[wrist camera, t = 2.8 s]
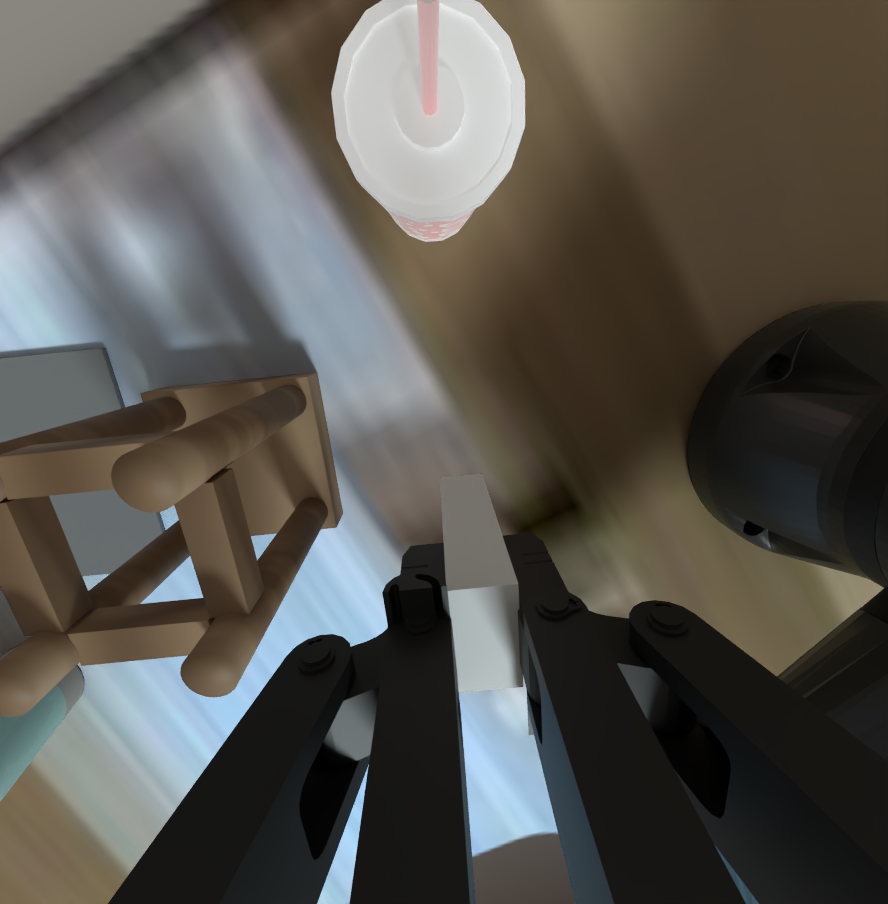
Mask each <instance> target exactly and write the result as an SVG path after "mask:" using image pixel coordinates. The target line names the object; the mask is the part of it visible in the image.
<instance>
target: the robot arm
mask: <svg viewBox="0 0 888 904" xmlns="http://www.w3.org/2000/svg"><path fill="white" fill-rule="evenodd" d="M688 463H689V470H690V475H691V479H692V482H693V485H694V488H695V490H696V493H697V495H698V497H699V498H700V500H701V502H702V503H703V505H704V506H705V507H706V509H707V510H708V511H709V512H710V513H711V514H712V515H713V516H714V517H715V518H716V519H717V520H718V521H720V522H721V523H722V524H724V525H725V526H726V527H728V528H729V529H731V530H732V531H734V532H735V533H736V534H738V535H739V536H741V537H742V538H744V539H745V540H747V541H749V542H750V543H752V544H754V545H756V546H758V547H761V548H763V549H765V550H768V551H770V552H774V553H777V554H781V555H784V556H788V557H791V558H795V559H799V560H802V561H806V562H810V563H813V564H817V565H821V566H824V567H828V568H832V569H835V570H839V571H842V572H846V573H850V574H853V575H857V576H861V577H864V578H868V579H870V580H871V581H873V582H875V583H877V584H879V585H880V586H882V587H884V589H883V590H882V591H881V592H879V593H878V594H877V595H876V596H875V597H873V598H872V599H871V600H870V601H869V602H867V603H866V604H865V605H864V606H863V607H861V608H860V609H858V610H857V611H856V612H855V613H853V614H852V615H851V616H850V617H849V618H847V619H846V620H845V621H844V622H843V623H841V624H840V625H839V626H838V627H837V628H835V629H834V630H833V631H832V632H830V633H829V634H828V635H827V636H826V637H824V638H823V639H822V640H821V641H820V642H818V643H817V644H816V645H815V646H814V647H812V648H811V649H810V650H809V651H807V652H806V653H805V654H804V655H803V656H801V657H800V658H799V659H798V660H797V661H795V662H794V663H793V664H792V665H791V666H789V667H788V668H787V669H786V670H784V671H783V672H782V673H781V674H780V675H778V676H775V675H774V674H773V673H771V672H770V671H769V670H767V669H766V668H765V667H763V666H762V665H761V664H760V663H758V662H757V661H756V660H754V659H753V658H752V657H750V656H749V655H748V654H747V653H745V652H744V651H743V650H741V649H740V648H739V647H737V646H736V645H735V644H733V643H732V642H731V641H730V640H728V639H727V638H726V637H724V636H723V635H722V634H720V633H719V632H718V631H717V630H715V629H714V628H713V627H711V626H710V625H709V624H707V623H706V622H705V621H704V620H702V619H701V618H700V617H698V616H697V615H696V614H694V613H693V612H691V611H689V610H687V609H686V608H684V607H682V606H679V605H676V604H673V603H670V602H665V601H656V600H654V601H646V602H641V603H639V604H637V605H636V606H634V607H633V608H632V610H631V612H630V613H629V619H627V618H620V617H612V616H605V615H601V614H597V613H594V612H591V611H589V610H588V608H587V607H586V605H585V604H584V603H583V602H582V600H581V599H580V598H578V597H576V596H575V595H573V594H571V593H569V592H568V590H567V588H566V586H565V584H564V582H563V580H562V578H561V576H560V574H559V572H558V570H557V568H556V566H555V564H554V563H553V562H552V559H551V557H550V555H549V554H548V551H547V549H546V547H545V545H544V543H543V541H542V540H540V539H539V538H538V537H536V536H535V535H533V534H532V533H525V534H515V535H505V536H502V533H501V530H500V527H499V524H498V521H497V518H496V515H495V512H494V509H493V506H492V503H491V500H490V497H489V494H488V490H487V487H486V484H485V481H484V478H483V475H482V473H480V474H470V475H460V476H450V477H440V486H441V504H442V522H443V540H444V543H437V544H427V545H416V546H411V547H410V548H409V549H408V550H407V551H406V553H405V554H404V555H403V557H402V565H401V574H400V575H399V576H397V577H395V578H393V579H392V580H391V581H390V582H389V583H388V584H386V586H385V588H384V590H383V598H384V605H385V611H386V617H387V623H388V628H387V629H386V630H385V631H384V632H383V633H382V634H380V635H379V636H377V637H376V638H373V639H371V640H369V641H366V642H364V643H361V644H358V645H355V646H352V647H350V643H349V642H348V641H347V640H346V639H345V638H343V637H341V636H337V635H333V634H330V635H319V636H316V637H313V638H310V639H308V640H306V641H304V642H303V643H301V644H299V645H298V646H296V647H295V648H294V649H293V650H292V651H291V652H290V653H289V654H288V655H287V656H286V658H285V659H284V661H283V662H282V663H281V665H280V666H279V668H278V669H277V670H276V672H275V673H274V674H273V676H272V677H271V679H270V680H269V681H268V683H267V684H266V686H265V687H264V688H263V690H262V691H261V692H260V694H259V695H258V697H257V698H256V699H255V701H254V702H253V704H252V705H251V706H250V708H249V709H248V710H247V712H246V713H245V715H244V716H243V717H242V719H241V720H240V722H239V723H238V724H237V726H236V727H235V728H234V730H233V731H232V733H231V734H230V735H229V737H228V738H227V740H226V741H225V742H224V744H223V745H222V746H221V748H220V749H219V751H218V752H217V753H216V755H215V756H214V758H213V759H212V760H211V762H210V763H209V764H208V766H207V767H206V769H205V770H204V771H203V773H202V774H201V776H200V777H199V778H198V780H197V781H196V782H195V784H194V785H193V787H192V788H191V789H190V791H189V792H188V794H187V795H186V796H185V798H184V799H183V800H182V802H181V803H180V805H179V806H178V807H177V809H176V810H175V812H174V813H173V814H172V816H171V817H170V818H169V820H168V821H167V823H166V824H165V825H164V827H163V828H162V830H161V831H160V832H159V834H158V835H157V836H156V838H155V839H154V841H153V842H152V843H151V845H150V846H149V848H148V849H147V850H146V852H145V853H144V854H143V856H142V857H141V859H140V860H139V861H138V863H137V864H136V866H135V867H134V868H133V870H132V871H131V872H130V874H129V875H128V877H127V878H126V879H125V881H124V882H123V884H122V885H121V886H120V888H119V889H118V890H117V892H116V893H115V895H114V896H113V897H112V899H111V900H110V902H109V903H108V904H317V902H318V899H319V897H320V894H321V891H322V888H323V886H324V883H325V880H326V878H327V875H328V872H329V870H330V867H331V864H332V861H333V859H334V856H335V853H336V851H337V848H338V845H339V843H340V840H341V837H342V835H343V832H344V829H345V826H346V824H347V821H348V818H349V816H350V813H351V810H352V808H353V805H354V802H355V799H356V797H357V794H358V791H359V789H360V786H361V783H362V781H363V778H364V775H365V772H366V770H367V767H368V764H369V767H368V774H367V782H366V789H365V796H364V803H363V811H362V818H361V825H360V832H359V840H358V847H357V854H356V861H355V869H354V876H353V883H352V890H351V898H350V904H476V902H475V889H474V877H473V864H472V851H471V838H470V825H469V812H468V800H467V787H466V774H465V761H464V748H463V736H462V723H461V711H460V702H459V693H464V692H474V691H484V690H495V689H505V688H515V687H523V676H524V680H525V684H526V688H527V704H528V727H529V735H533V734H534V736H535V740H536V744H537V748H538V752H539V756H540V760H541V764H542V769H543V773H544V777H545V781H546V785H547V789H548V793H549V797H550V801H551V805H552V809H553V813H554V818H555V822H556V826H557V830H558V834H559V838H560V842H561V846H562V850H563V854H564V858H565V862H566V866H567V870H568V874H569V878H570V883H571V887H572V890H573V895H574V899H575V903H576V904H888V301H858V302H837V303H827V304H821V305H816V306H812V307H808V308H805V309H802V310H799V311H796V312H793V313H791V314H789V315H786V316H784V317H782V318H780V319H778V320H776V321H774V322H772V323H771V324H769V325H767V326H766V327H764V328H763V329H761V330H760V331H758V332H757V333H755V334H754V335H753V336H751V337H750V338H749V339H748V340H746V341H745V342H744V343H743V344H742V345H741V346H740V347H739V348H737V349H736V350H735V351H734V352H733V353H732V354H731V355H730V357H729V358H728V359H727V360H726V361H725V362H724V363H723V365H722V366H721V367H720V368H719V370H718V371H717V372H716V374H715V375H714V377H713V378H712V380H711V381H710V383H709V384H708V386H707V388H706V390H705V391H704V393H703V395H702V397H701V399H700V402H699V404H698V406H697V409H696V412H695V415H694V418H693V421H692V425H691V430H690V435H689V442H688Z"/></svg>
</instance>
